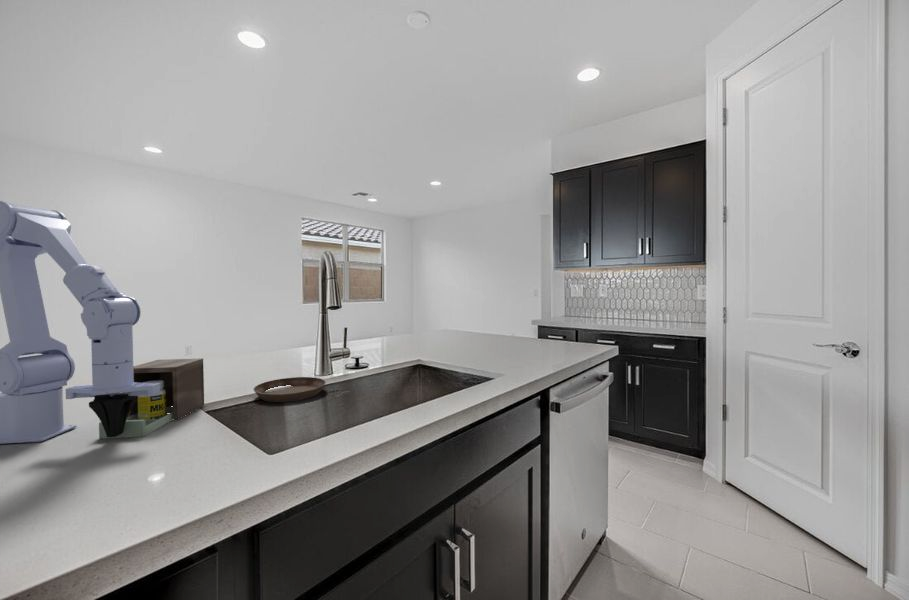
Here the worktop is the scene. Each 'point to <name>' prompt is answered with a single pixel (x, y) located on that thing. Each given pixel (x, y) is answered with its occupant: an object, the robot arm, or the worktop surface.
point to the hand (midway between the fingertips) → (115, 435)
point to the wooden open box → (174, 383)
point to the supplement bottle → (152, 404)
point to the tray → (139, 425)
